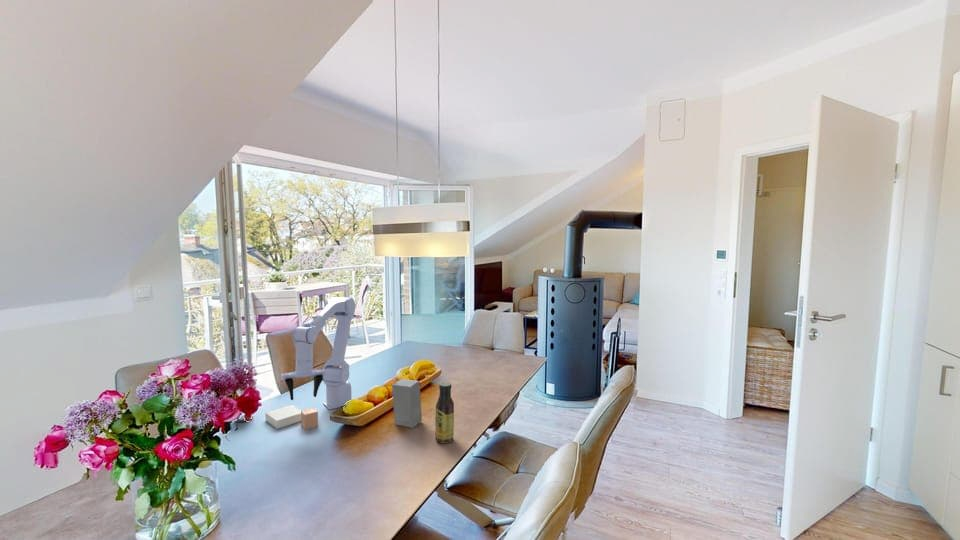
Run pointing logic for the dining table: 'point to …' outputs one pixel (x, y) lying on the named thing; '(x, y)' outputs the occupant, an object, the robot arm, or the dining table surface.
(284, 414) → the marble slab
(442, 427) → the sauce bottle
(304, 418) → the wooden block
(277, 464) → the dining table surface
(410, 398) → the skincare box
